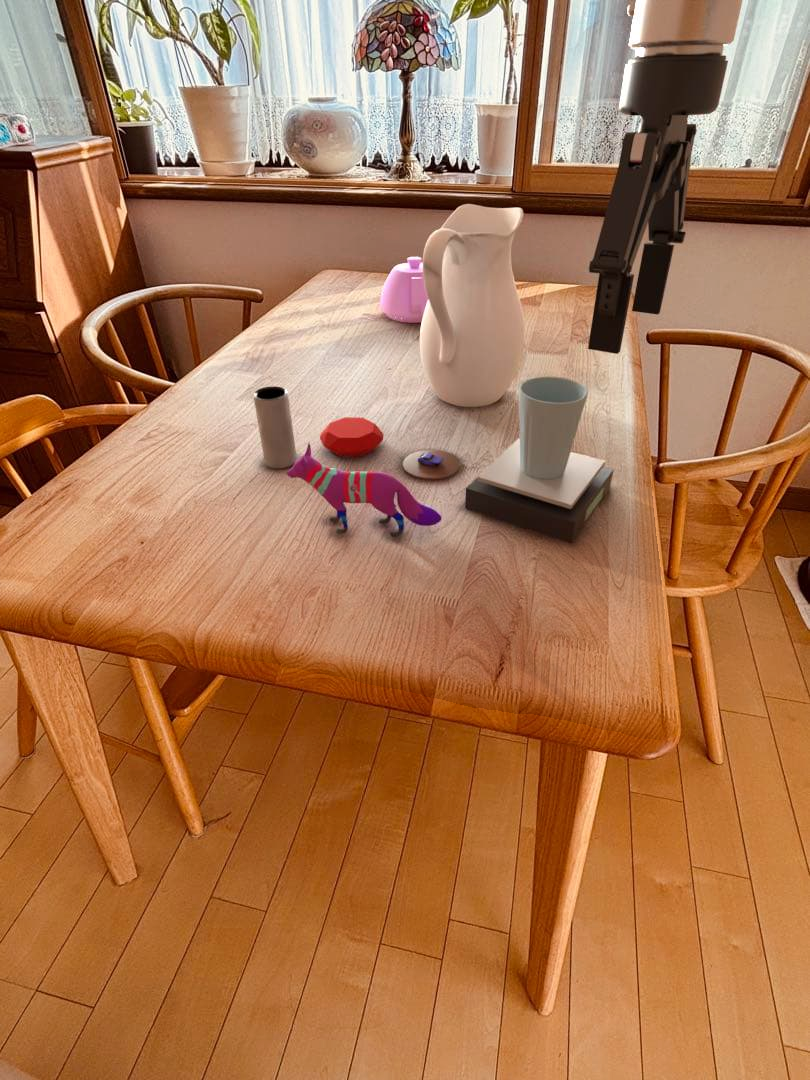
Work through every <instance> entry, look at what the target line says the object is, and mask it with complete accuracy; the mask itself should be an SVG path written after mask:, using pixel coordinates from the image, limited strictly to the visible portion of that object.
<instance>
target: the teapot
mask: <svg viewBox="0 0 810 1080" xmlns="http://www.w3.org/2000/svg"><path fill="white" fill-rule="evenodd" d="M422 261H423V257H420V256H410V257H407V262H405V263H404V262H403V263H399V264H397V265H394V267H393V268H392V270H390V273H389V275H388V277H387V278H386V280H385V282H384V284H383V287H382V290H381V294H380V303H379V305H380V309H381V311H383V313H384V312H385V313H386V314H385V313H384V314H385V315H386V316H387V317H388V318H389V319H391V320H393V321H396V322H401V323H409V324H412V323H413V324H415V323H416V324H417V323H419V324H420V323H422V318H423V314H424V311H425V308H426V304H427V301H428V297H427V294H426V290H425V286H424V280H423V262H422ZM389 315H390V316H389ZM391 316H392V317H391ZM395 317H396V318H395ZM401 318H402V319H401Z"/></svg>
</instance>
